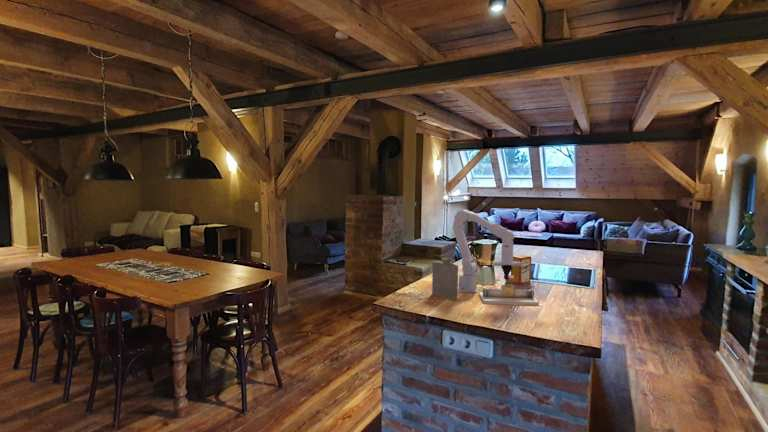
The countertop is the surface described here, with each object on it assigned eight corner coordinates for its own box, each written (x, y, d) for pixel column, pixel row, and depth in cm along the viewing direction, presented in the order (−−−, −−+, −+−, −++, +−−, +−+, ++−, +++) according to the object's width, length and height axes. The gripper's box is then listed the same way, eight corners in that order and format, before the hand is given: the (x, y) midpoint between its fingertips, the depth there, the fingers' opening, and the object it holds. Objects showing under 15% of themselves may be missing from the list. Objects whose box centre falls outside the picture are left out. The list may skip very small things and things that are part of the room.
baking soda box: (519, 285, 221) (520, 257, 220) (510, 282, 227) (511, 255, 226) (530, 282, 226) (531, 255, 225) (521, 280, 232) (522, 254, 231)
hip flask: (430, 294, 203) (431, 256, 201) (436, 292, 206) (436, 255, 204) (454, 301, 191) (455, 261, 189) (459, 299, 193) (460, 260, 192)
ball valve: (484, 299, 191) (484, 284, 191) (482, 295, 197) (482, 281, 197) (534, 300, 189) (534, 285, 189) (530, 297, 195) (531, 282, 194)
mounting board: (483, 303, 188) (483, 300, 187) (479, 295, 202) (479, 292, 201) (538, 305, 185) (538, 302, 185) (530, 296, 199) (530, 293, 199)
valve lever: (510, 284, 191) (510, 280, 191) (505, 283, 192) (505, 280, 192) (514, 278, 202) (514, 275, 202) (509, 277, 203) (509, 274, 203)
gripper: (496, 255, 195) (495, 281, 196) (524, 255, 196) (523, 281, 197) (491, 252, 202) (490, 278, 203) (518, 252, 203) (517, 277, 204)
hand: (506, 279), depth 201 cm, fingers closed, pressing on valve lever
